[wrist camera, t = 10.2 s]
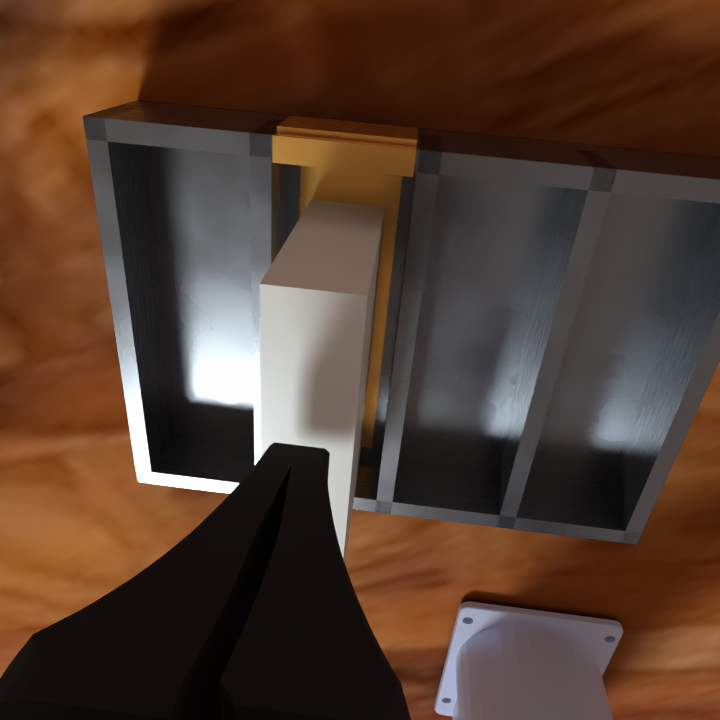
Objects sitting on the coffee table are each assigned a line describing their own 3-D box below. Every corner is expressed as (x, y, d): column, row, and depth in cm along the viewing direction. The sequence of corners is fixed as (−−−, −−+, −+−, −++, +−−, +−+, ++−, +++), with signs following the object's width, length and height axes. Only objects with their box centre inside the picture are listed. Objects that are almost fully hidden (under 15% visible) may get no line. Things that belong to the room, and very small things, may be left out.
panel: (360, 450, 24) (339, 595, 18) (302, 443, 24) (262, 585, 18) (385, 207, 19) (367, 295, 13) (311, 199, 19) (259, 283, 13)
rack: (611, 480, 25) (639, 551, 22) (170, 427, 26) (134, 487, 23) (738, 152, 18) (807, 182, 15) (135, 93, 19) (76, 109, 16)
